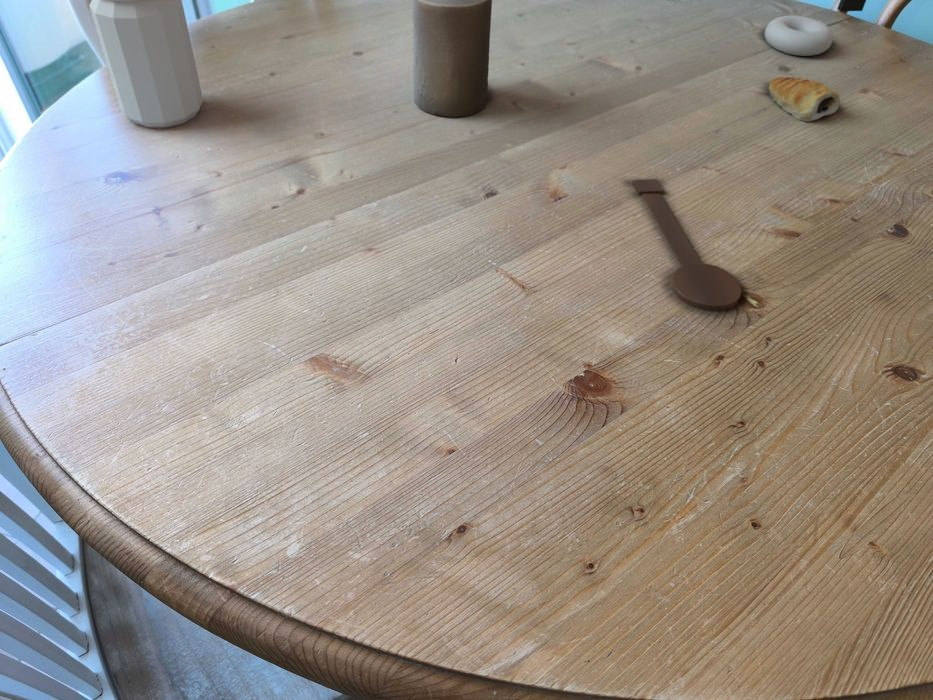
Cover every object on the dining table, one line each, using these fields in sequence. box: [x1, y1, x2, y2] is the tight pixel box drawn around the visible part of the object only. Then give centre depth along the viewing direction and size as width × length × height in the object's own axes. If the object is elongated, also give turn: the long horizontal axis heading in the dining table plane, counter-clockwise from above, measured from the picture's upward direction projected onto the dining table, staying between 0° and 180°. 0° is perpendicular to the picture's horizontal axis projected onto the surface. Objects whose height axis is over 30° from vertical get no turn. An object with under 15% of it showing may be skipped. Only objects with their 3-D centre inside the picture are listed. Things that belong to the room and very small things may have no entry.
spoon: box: [631, 178, 742, 312], centre depth 76 cm, size 6×22×2 cm, turn 8°
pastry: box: [768, 76, 841, 123], centre depth 100 cm, size 9×7×4 cm
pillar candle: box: [412, 0, 493, 118], centre depth 93 cm, size 10×10×15 cm
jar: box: [89, 0, 204, 129], centre depth 87 cm, size 10×10×18 cm
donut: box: [764, 15, 834, 57], centre depth 115 cm, size 10×3×10 cm
